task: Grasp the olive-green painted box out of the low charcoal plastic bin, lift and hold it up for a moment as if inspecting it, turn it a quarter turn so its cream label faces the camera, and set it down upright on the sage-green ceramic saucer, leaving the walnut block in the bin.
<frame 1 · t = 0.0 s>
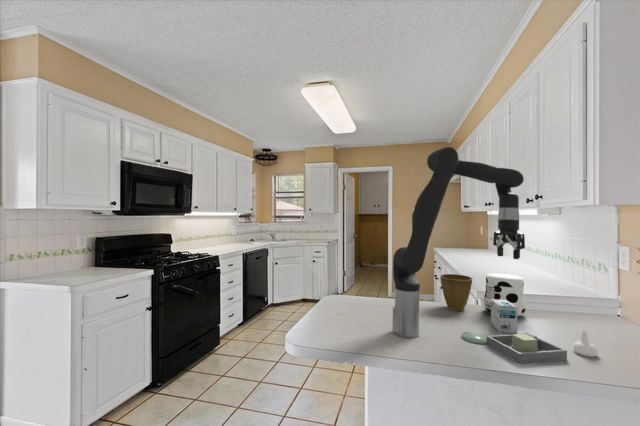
hand: (508, 257, 128), 29 cm above the counter, fingers open, 8 cm apart
plant pot: (455, 308, 154), on the counter
olive box: (524, 354, 103), resting in bin
milk container: (503, 314, 147), on the counter
light bulb box: (503, 329, 127), on the counter
bin: (524, 351, 105), on the counter
garlic bulb: (585, 354, 105), on the counter
saucer: (476, 338, 116), on the counter
walnut block: (527, 346, 110), resting in bin
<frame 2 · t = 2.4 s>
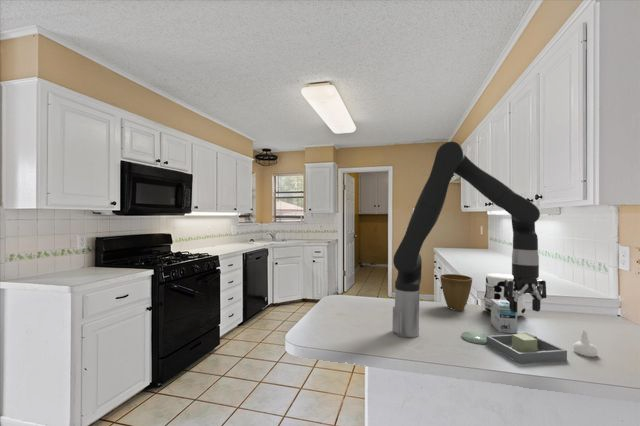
hand: (525, 311, 103), 14 cm above the counter, fingers open, 8 cm apart
nothing on the counter moved.
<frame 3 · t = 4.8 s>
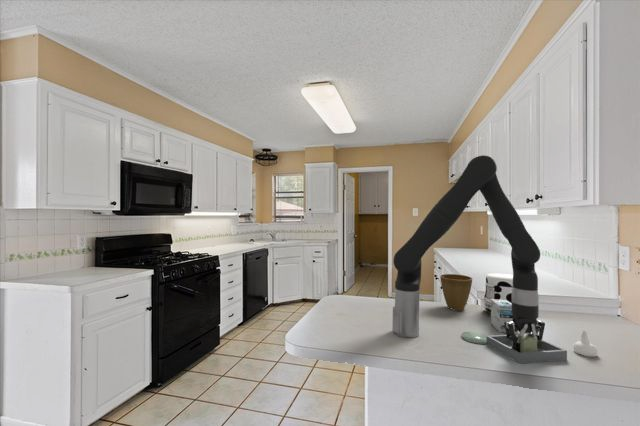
hand: (524, 352, 103), 1 cm above the counter, fingers closed on olive box, 5 cm apart
olive box: (524, 354, 103), resting in bin, touching gripper
everything else where it was.
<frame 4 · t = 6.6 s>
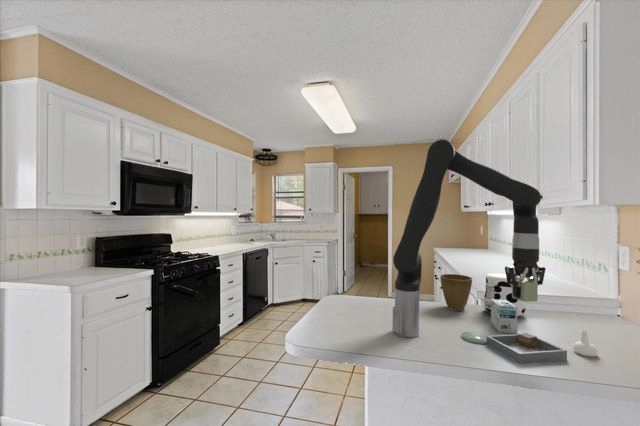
hand: (524, 297, 103), 19 cm above the counter, fingers closed on olive box, 5 cm apart
olive box: (524, 299, 103), point 18 cm above the counter, touching gripper
everything else where it was.
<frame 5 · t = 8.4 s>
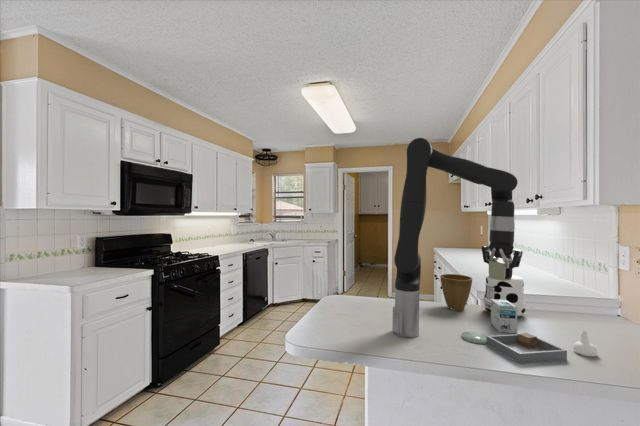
hand: (499, 277, 109), 25 cm above the counter, fingers closed on olive box, 5 cm apart
olive box: (499, 278, 109), point 24 cm above the counter, touching gripper
everything else where it was.
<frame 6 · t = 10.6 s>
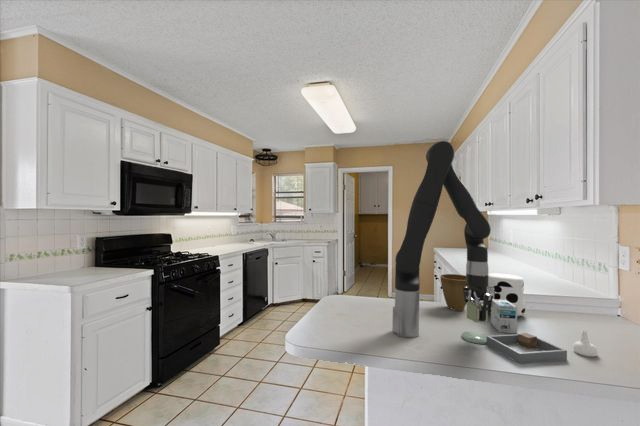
hand: (477, 317, 116), 8 cm above the counter, fingers closed on olive box, 5 cm apart
olive box: (476, 319, 116), point 7 cm above the counter, touching gripper
everything else where it was.
when the fingers open (2 cm above the counter, at t = 12.4 s): olive box stays where it is, resting on saucer.
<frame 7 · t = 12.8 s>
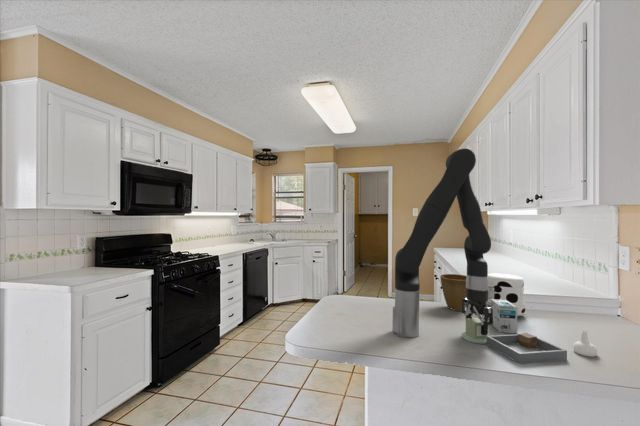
hand: (476, 330, 116), 3 cm above the counter, fingers open, 8 cm apart
olive box: (475, 336, 116), point 1 cm above the counter, touching saucer
everything else where it was.
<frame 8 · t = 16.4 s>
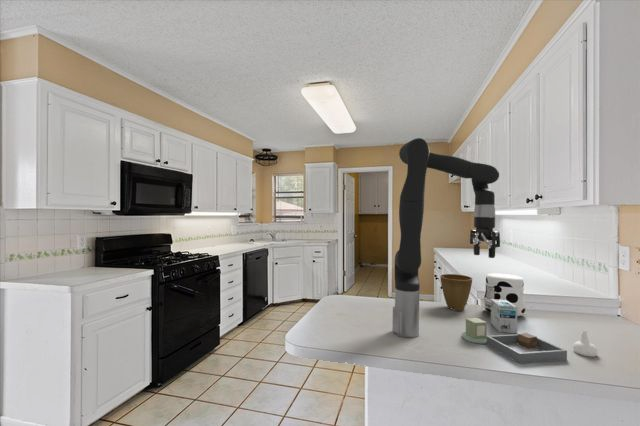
hand: (483, 256, 124), 30 cm above the counter, fingers open, 8 cm apart
nothing on the counter moved.
at the end: olive box 0.3 cm from the saucer (horizontally); olive box tilted 0°; the gripper is holding nothing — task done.
